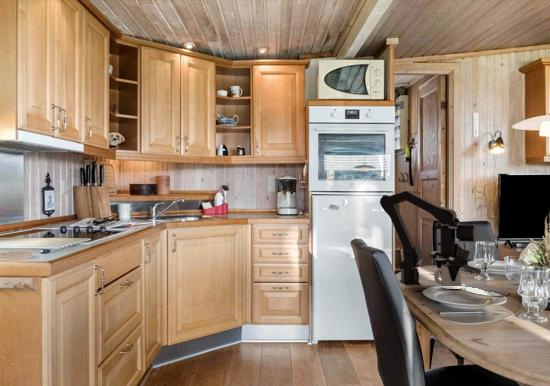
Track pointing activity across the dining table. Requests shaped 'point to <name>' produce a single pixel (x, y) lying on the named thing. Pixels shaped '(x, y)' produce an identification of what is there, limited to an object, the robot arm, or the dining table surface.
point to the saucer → (491, 289)
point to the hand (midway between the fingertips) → (448, 279)
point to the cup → (447, 277)
